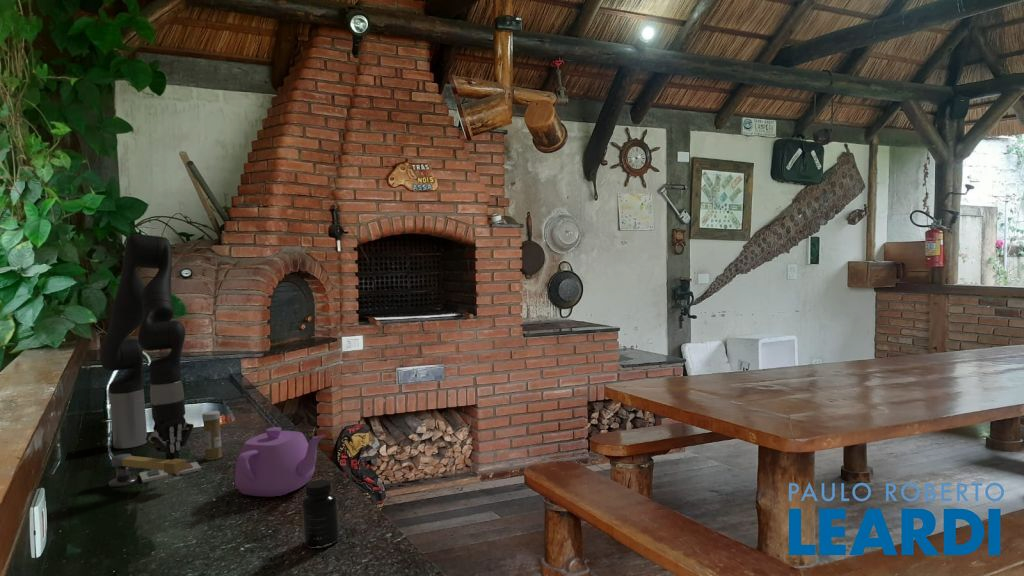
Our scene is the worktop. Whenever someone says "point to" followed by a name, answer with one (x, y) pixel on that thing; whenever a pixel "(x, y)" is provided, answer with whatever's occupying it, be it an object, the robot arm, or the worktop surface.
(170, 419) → the robot arm
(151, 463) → the swing bar
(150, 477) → the label tile
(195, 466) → the label tile
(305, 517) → the supplement bottle
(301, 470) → the teapot
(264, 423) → the worktop surface
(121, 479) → the post
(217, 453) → the sprinkles bottle
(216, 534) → the worktop surface
